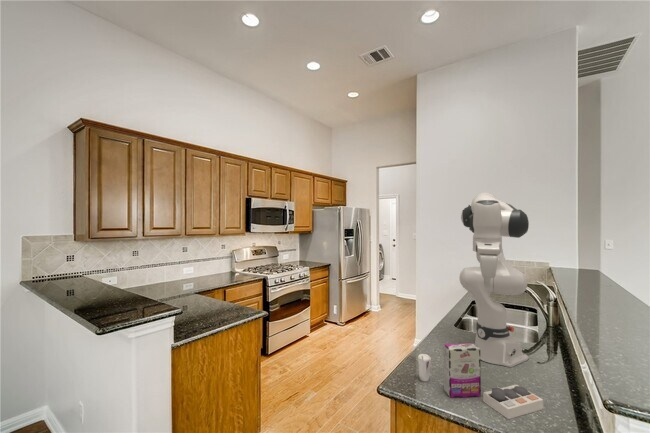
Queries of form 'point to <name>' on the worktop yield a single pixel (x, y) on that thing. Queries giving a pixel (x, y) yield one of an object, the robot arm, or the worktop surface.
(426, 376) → the milkshake
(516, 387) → the button
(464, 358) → the candy bar box
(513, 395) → the button middle
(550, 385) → the worktop surface
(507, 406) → the button board
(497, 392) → the button
